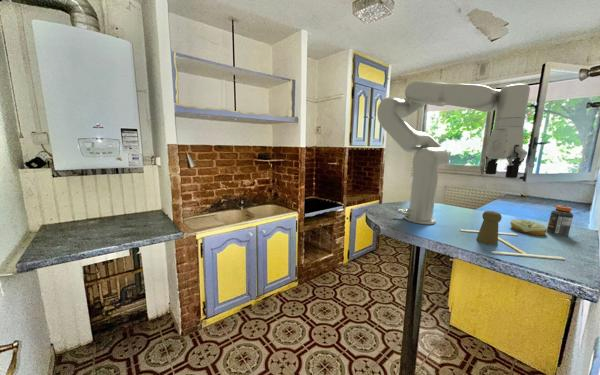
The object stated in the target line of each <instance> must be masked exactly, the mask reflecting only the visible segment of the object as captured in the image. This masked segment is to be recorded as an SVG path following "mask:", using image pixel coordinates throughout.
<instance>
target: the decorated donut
mask: <svg viewBox="0 0 600 375" xmlns="http://www.w3.org/2000/svg"><path fill="white" fill-rule="evenodd" d="M510 227H511V228H512V229H513V230H514V231H517V232H520V233H524V234H526V235H527V234H528V235H531V236H540V237H541V236H544V235H546V233H548V232H547V227H546V226H545V225H543V224H540V223H539V222H535V221H531V220H527V219H512V220H511V221H510Z"/></svg>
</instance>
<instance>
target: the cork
mask: <svg viewBox="0 0 600 375" xmlns="http://www.w3.org/2000/svg"><path fill="white" fill-rule="evenodd" d="M502 217H503V216H502V214H501V213H500V212H498V211H493V210H485V211H484V212H483V213H482V219H483V220H482V222H481V227H480V228H479V230H478V231H479V233H478V234H477V237H476V241H477V242H478V243H481V244H483V245H488V246H498V244H499V240H498V237H499V234H498V232H499V222H501V221H502Z"/></svg>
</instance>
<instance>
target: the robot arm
mask: <svg viewBox="0 0 600 375" xmlns="http://www.w3.org/2000/svg"><path fill="white" fill-rule="evenodd" d="M530 90H531V87H530V85H529V84H526V83H515V84H510V85H509V84H508V85H505V86H502V87H501V88H500V89H495V88H492V87H490V86H488V85H484V84H483V85H482V84H474V83H473V84H471V83H454V82H453V83H452V82H449V83H448V82H439V81H437V82H436V81H426V80H425V81H424V80H415V81H411V82H409V84H408V85H407V86H406V87H405V90H404V96H405V97H404V98H402V99H401V98H398V97H393V96H392V97H385V98H384V99H382V100H381V101H380V102H379V104H378V106H377V110H376V112H377V120H378V122H379V124H380V126H381V127H382V129H384V131H386V133H388V134H389V136H390V137H391V138H392V139H393V141H395V142H396V143H397V144H398V145H399V147H400V148H401V149H402V150H403V151H404V152H406V153H415V154H414V156H413V159H412V182H411V189H410V190H411V191H410V198H409V207H406V208H405V209H399V208H398V209H397V210H396V213H397V215H398V214H400V215H402V216H404V218H403V219H405V220H407V221H408V222H411V223H414V224H418V225H435V224H436V223H437V219H436V218H435V217H433V214H434V207H435V201H436V194H437V188H438V181H439V174H438V170H440V169H443V168H445V167H447V165H448V163H449V161H450V155H449V152H448V151H447V149H446V148H444V147H443V146H442V145H441V144H440V143H439V142H438V141H437V140H436V139H435V138H434V137H433V136H431V134H429V133H427V132H425V131H419V130H415V129H414V128H413V127H412V126H410V125H409V124H408V123H407V122H406V121H405V120H403V119H404V118H407V117H408V116H410V115H412V114H414V113H415V112H418V110H420V109H421V108H423V107H424V106H427V105H429V106H436V107H444V106H452V107H459V108H466V109H471V110H475V111H479V112H483V113H487V112H488V113H489V112H494V111H495V116H494V117H495V118H494V122H493V123H494V124H493V129H492V130H491V134H490V137H489V140H488V145H487V148H486V150H485V159H486V160H485V163H486V167H485V168H486V169H485V175H496V174H497V169H498V161H499V160H507V163H508V164H507V165H506V171H505V176H504V177H505V178H506V179H517V178H518V175H519V169H520V166H522V163H523V162H524V160H525V158H526V156H527V155H528V152H527V151H526V150H525V148H523V146H524V126H525V121H526V116H527V115H526V113H527V109H528V102H529V98H530Z"/></svg>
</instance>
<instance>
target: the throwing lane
mask: <svg viewBox="0 0 600 375" xmlns="http://www.w3.org/2000/svg"><path fill="white" fill-rule="evenodd" d="M459 231H460V232H463V233H464V232H465V233H478V234H479V231H480V230H474V229H472V230H471V229H462V228H460V229H459ZM498 235H504V236H516V237H518V236H519V234H517V233H514V232H513V233H511V232H500V231H498ZM498 242H501V243H503V244H505V245H506V246H507V247H510V248H511V249H513V250H514V251H516V252H507V251H497V250H495V251H494V250H490V254H493V255H501V256H502V255H504V256H511V257H512V256H513V257H514V256H515V257H524V258H538V259H549V260H557V261H558V260H560V261H561V260H562V261H566V258H564V257H563V256H555V255H543V254H542V255H541V254H531V253H527V252H525V251H524V250H522V249H520V248H518V247H516V246H515V245H513V244H511V243H510V242H508V241H506V240H504V239H502V238H501V237H500V236H498Z"/></svg>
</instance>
